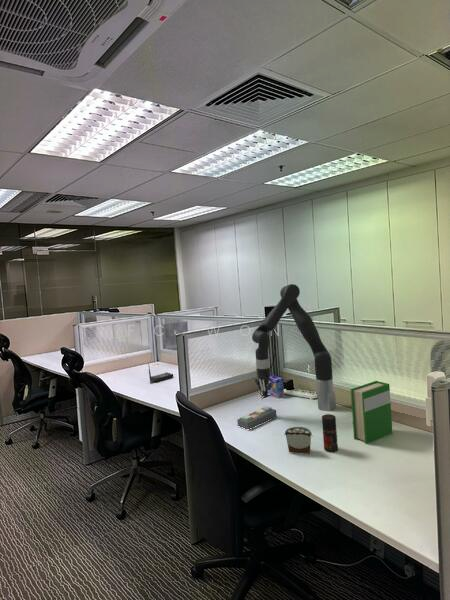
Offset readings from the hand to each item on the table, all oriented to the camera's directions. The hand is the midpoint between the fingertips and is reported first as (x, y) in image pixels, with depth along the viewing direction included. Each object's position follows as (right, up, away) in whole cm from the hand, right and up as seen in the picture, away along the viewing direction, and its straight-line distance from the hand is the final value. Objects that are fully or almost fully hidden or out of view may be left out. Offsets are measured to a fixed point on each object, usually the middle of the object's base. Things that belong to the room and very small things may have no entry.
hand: (265, 396), depth 216 cm
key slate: (+1, -9, +1) cm, 9 cm away
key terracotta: (-7, -12, -6) cm, 15 cm away
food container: (+12, -14, -41) cm, 45 cm away
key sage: (-11, -11, -10) cm, 18 cm away
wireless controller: (-76, -12, +99) cm, 126 cm away
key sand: (-3, -10, -3) cm, 11 cm away
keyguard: (-5, -13, -4) cm, 14 cm away
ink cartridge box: (+11, -8, +35) cm, 38 cm away
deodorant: (+25, -13, -43) cm, 51 cm away
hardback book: (+47, -10, -34) cm, 59 cm away
